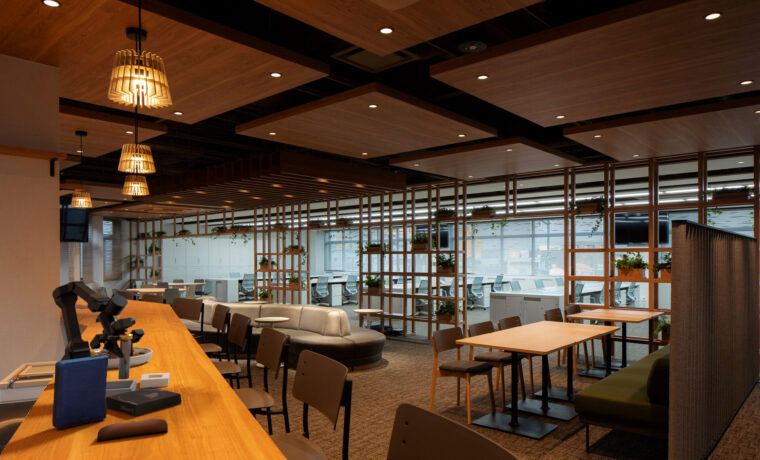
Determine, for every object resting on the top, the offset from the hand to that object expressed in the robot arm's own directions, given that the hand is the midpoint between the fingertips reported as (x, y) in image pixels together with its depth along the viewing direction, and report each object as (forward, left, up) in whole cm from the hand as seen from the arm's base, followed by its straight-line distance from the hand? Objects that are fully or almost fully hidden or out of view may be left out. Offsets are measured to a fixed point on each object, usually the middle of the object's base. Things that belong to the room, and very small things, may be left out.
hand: (127, 356), depth 183 cm
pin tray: (-4, -1, -13) cm, 14 cm away
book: (-8, -33, -14) cm, 36 cm away
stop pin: (-1, +1, -8) cm, 8 cm away
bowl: (-11, +58, -14) cm, 61 cm away
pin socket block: (+9, +12, -13) cm, 20 cm away
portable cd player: (+8, -18, -14) cm, 24 cm away
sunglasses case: (+8, -45, -14) cm, 48 cm away
